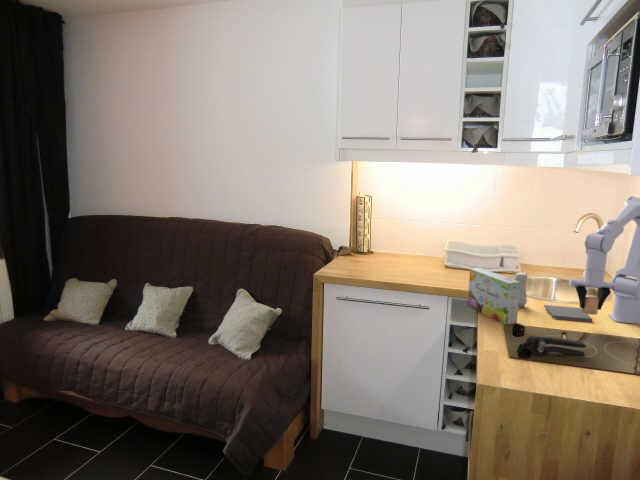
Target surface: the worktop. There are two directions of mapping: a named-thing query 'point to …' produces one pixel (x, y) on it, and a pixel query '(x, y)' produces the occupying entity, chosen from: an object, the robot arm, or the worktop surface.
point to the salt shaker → (522, 288)
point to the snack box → (494, 295)
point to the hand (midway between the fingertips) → (590, 308)
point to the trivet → (568, 313)
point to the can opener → (539, 346)
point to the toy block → (591, 305)
